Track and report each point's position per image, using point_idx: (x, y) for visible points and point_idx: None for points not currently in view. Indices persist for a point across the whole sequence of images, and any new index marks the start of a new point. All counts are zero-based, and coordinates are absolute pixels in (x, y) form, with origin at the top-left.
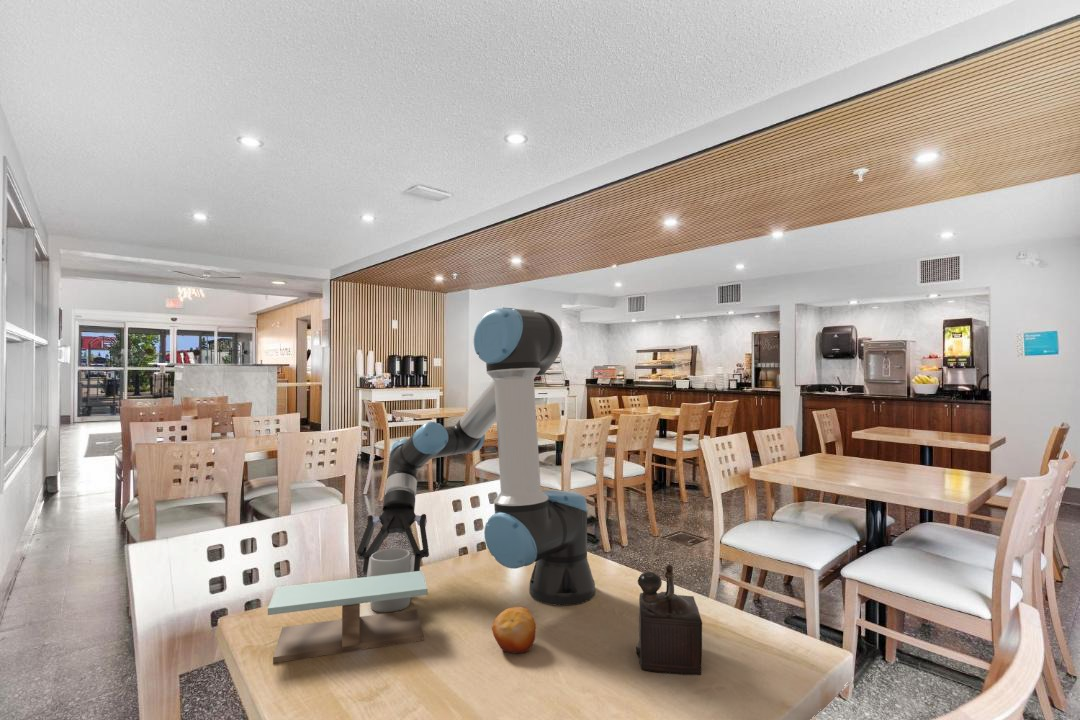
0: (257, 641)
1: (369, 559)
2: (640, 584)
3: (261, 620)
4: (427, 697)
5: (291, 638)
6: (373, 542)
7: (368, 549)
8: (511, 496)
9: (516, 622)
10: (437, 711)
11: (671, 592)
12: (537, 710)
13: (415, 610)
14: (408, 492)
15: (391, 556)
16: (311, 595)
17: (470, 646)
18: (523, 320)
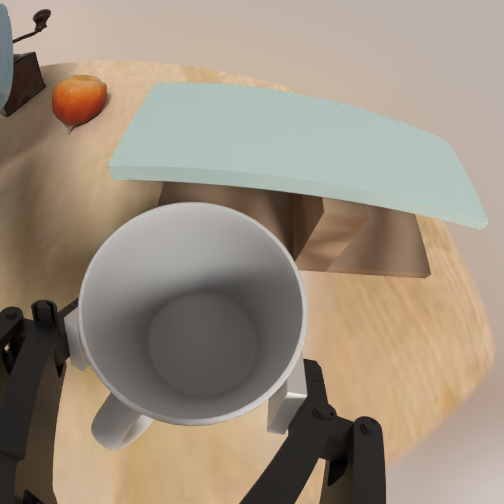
0: (443, 259)
1: (304, 384)
2: (48, 13)
3: (463, 341)
4: (212, 78)
5: (402, 222)
6: (300, 476)
7: (323, 438)
8: None
9: (85, 75)
10: (210, 69)
11: (24, 35)
12: (139, 61)
13: None
14: None
15: (174, 408)
16: (411, 144)
17: (123, 127)
18: None
